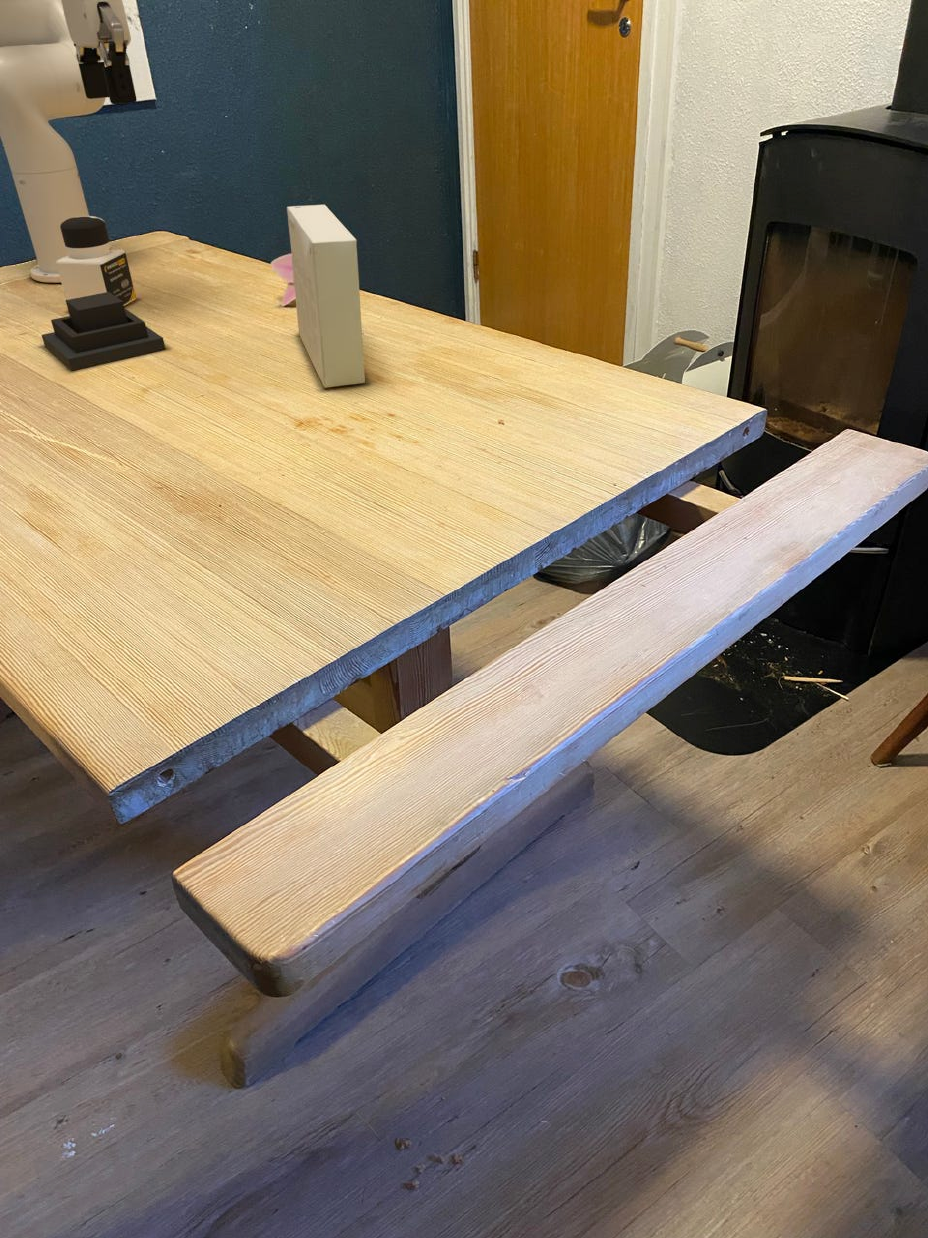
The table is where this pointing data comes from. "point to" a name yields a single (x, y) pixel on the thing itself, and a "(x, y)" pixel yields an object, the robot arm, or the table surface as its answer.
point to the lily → (285, 276)
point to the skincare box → (327, 294)
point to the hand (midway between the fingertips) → (111, 100)
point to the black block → (96, 312)
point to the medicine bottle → (93, 261)
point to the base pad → (101, 342)
